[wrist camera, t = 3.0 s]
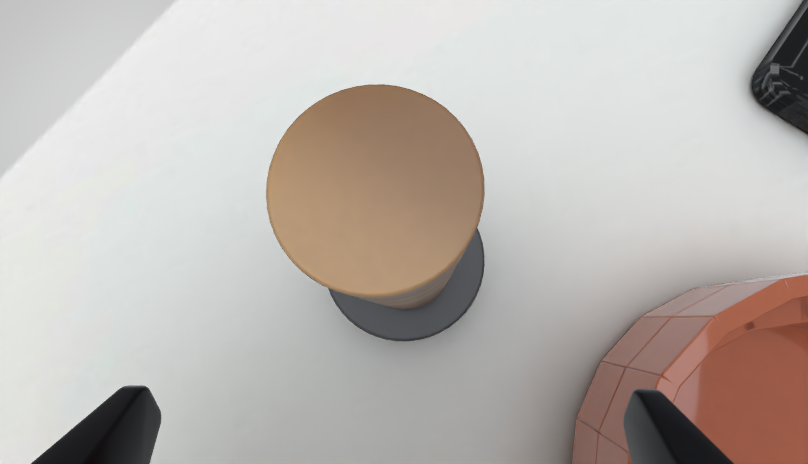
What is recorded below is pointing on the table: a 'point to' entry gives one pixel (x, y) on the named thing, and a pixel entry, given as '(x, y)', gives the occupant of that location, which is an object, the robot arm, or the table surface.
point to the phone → (787, 72)
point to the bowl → (712, 372)
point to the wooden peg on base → (382, 208)
